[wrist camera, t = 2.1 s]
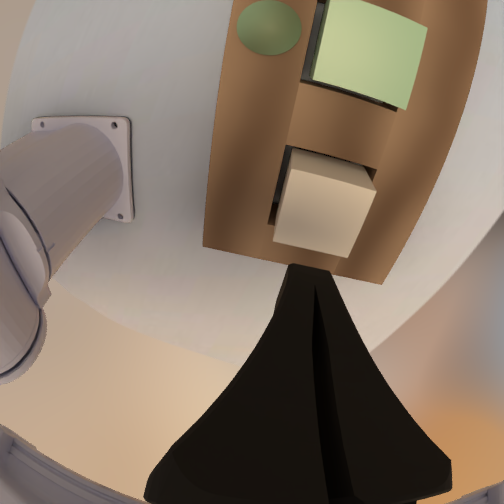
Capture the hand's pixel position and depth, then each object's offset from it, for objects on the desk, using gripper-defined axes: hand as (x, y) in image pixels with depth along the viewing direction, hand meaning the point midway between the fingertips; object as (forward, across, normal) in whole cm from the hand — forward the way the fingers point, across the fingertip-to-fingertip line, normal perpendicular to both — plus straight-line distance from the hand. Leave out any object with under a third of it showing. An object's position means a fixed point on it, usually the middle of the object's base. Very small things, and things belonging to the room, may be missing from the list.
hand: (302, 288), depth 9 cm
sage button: (+8, -1, -8) cm, 11 cm away
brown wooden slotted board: (+9, -1, -8) cm, 12 cm away
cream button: (+8, -1, 0) cm, 8 cm away
